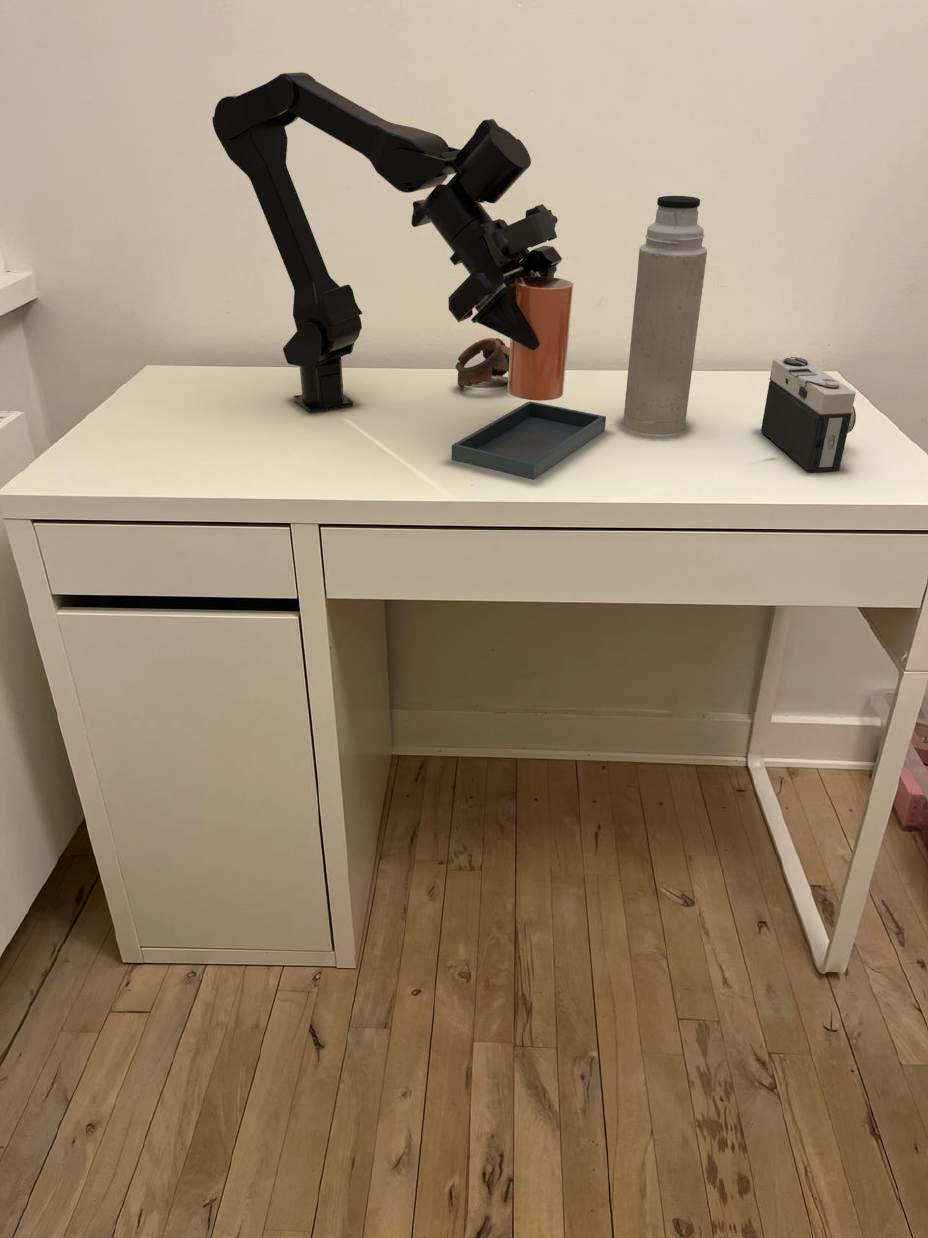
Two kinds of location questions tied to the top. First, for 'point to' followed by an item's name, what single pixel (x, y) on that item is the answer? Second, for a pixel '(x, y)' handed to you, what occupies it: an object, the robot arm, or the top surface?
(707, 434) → the top surface
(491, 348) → the brown curved loop
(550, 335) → the tumbler
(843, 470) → the top surface
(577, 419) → the tray
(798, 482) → the top surface
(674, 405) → the thermos bottle
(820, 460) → the camera
